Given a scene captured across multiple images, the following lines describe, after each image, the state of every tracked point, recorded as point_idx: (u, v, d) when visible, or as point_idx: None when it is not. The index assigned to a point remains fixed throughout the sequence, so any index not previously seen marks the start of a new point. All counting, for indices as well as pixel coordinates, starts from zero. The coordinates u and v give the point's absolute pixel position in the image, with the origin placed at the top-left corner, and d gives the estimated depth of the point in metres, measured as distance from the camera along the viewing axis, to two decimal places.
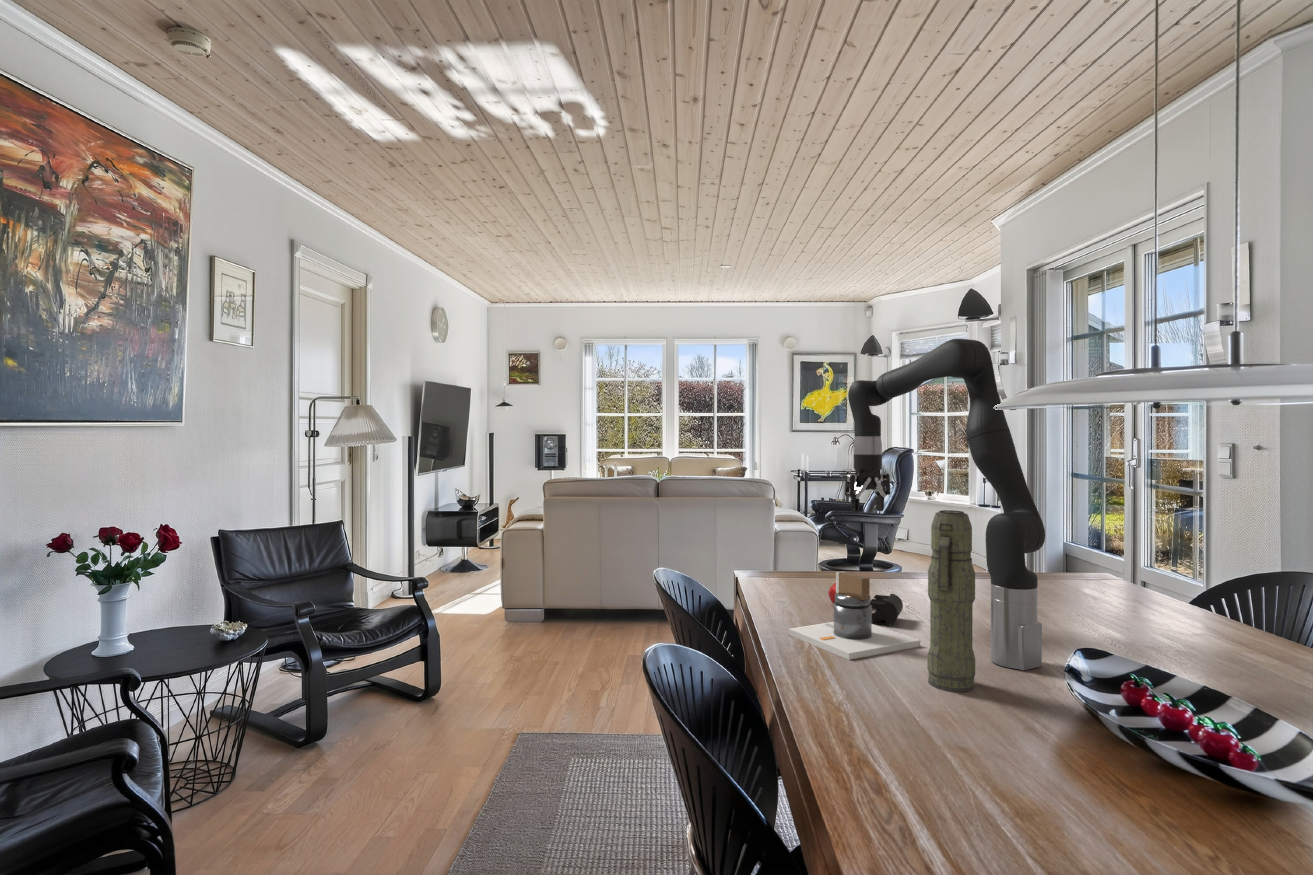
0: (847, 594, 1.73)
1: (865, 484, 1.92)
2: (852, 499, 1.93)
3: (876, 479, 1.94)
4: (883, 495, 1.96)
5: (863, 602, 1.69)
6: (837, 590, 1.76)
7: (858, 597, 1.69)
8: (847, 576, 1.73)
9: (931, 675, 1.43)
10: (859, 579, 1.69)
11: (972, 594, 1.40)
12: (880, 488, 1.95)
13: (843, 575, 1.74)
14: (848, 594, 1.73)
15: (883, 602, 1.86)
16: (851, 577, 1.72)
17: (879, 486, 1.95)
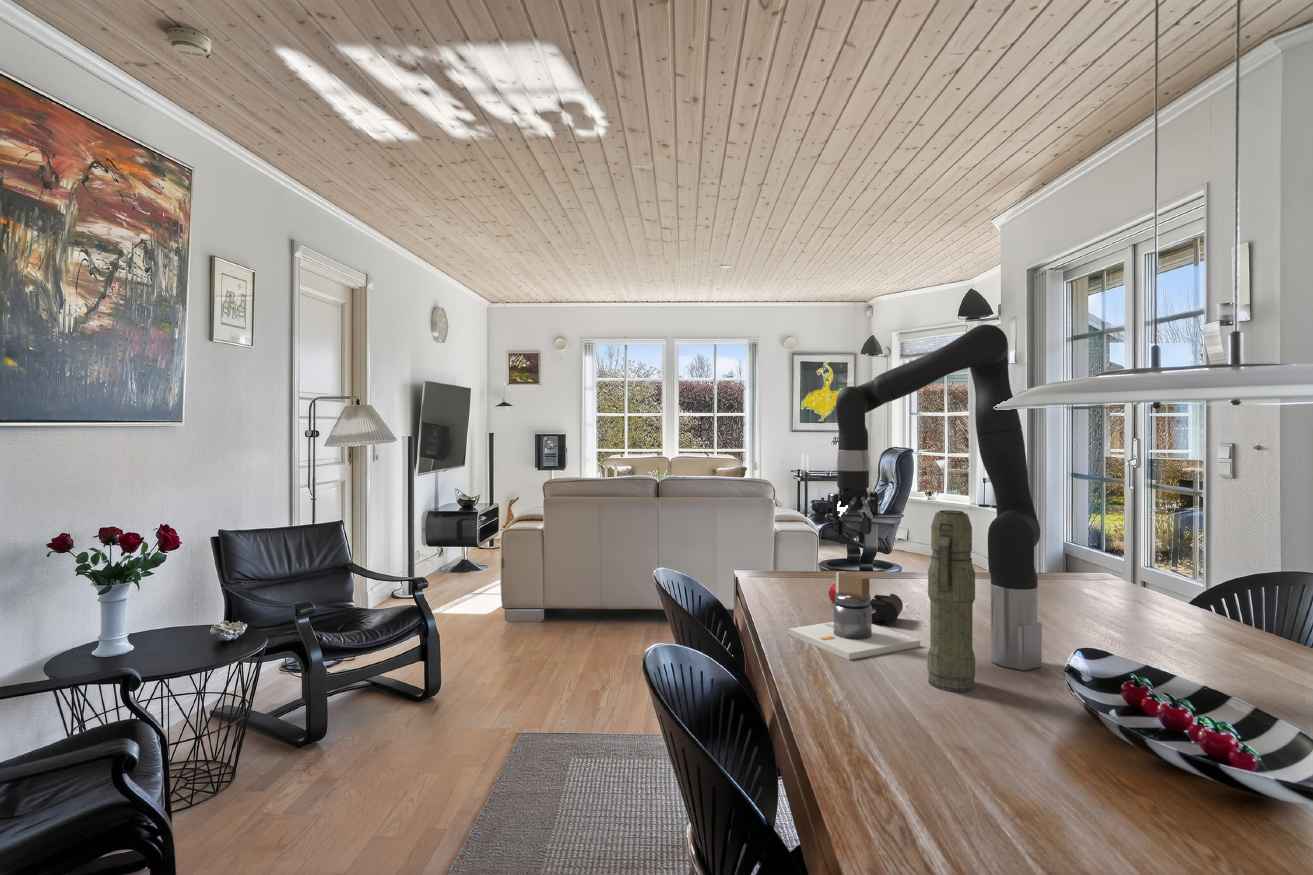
0: (847, 594, 1.73)
1: (850, 504, 1.70)
2: (835, 521, 1.70)
3: (862, 498, 1.72)
4: (870, 516, 1.74)
5: (863, 602, 1.69)
6: (837, 590, 1.76)
7: (858, 597, 1.69)
8: (847, 576, 1.73)
9: (931, 675, 1.43)
10: (859, 579, 1.69)
11: (972, 594, 1.40)
12: (867, 509, 1.73)
13: (843, 575, 1.74)
14: (848, 594, 1.73)
15: (883, 602, 1.86)
16: (851, 577, 1.72)
17: (866, 506, 1.72)
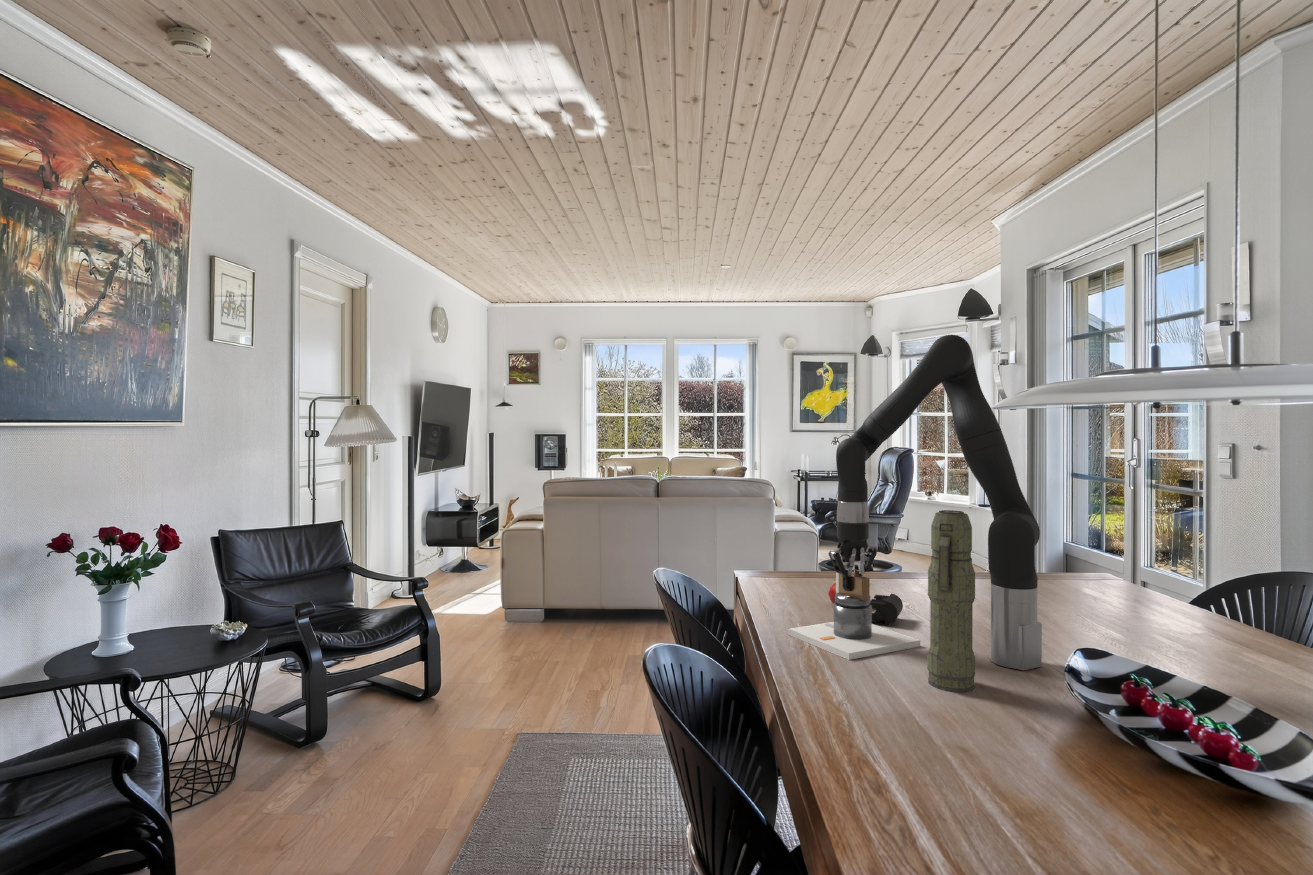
0: (847, 594, 1.73)
1: (852, 557, 1.71)
2: (844, 576, 1.72)
3: (862, 550, 1.72)
4: (861, 572, 1.73)
5: (863, 602, 1.69)
6: (837, 590, 1.76)
7: (858, 597, 1.69)
8: None
9: (931, 675, 1.43)
10: (859, 579, 1.69)
11: (972, 594, 1.40)
12: (862, 562, 1.72)
13: None
14: (848, 594, 1.73)
15: (883, 602, 1.86)
16: None
17: (862, 559, 1.72)
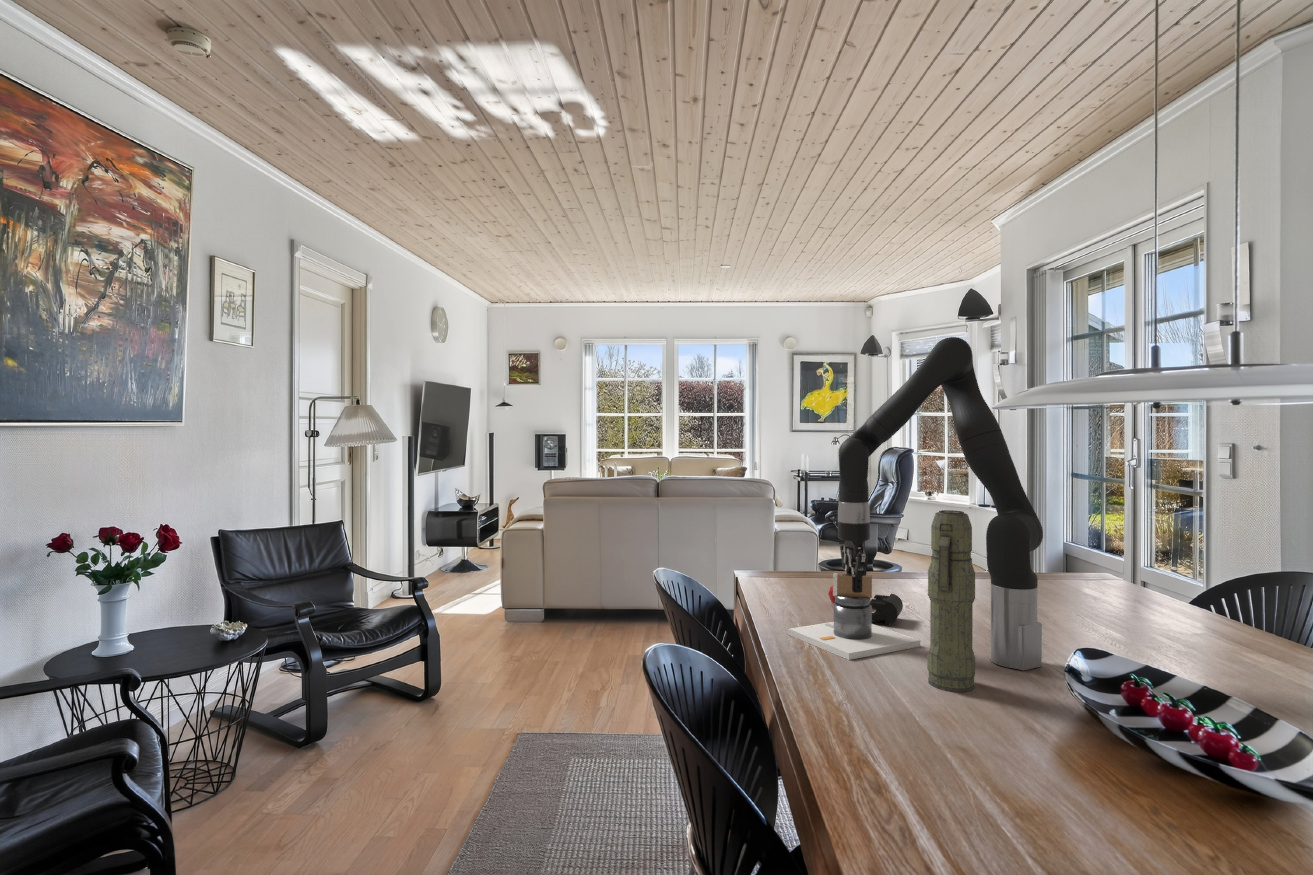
0: (850, 595, 1.72)
1: None
2: (858, 578, 1.70)
3: None
4: None
5: (870, 600, 1.71)
6: (835, 593, 1.73)
7: (866, 596, 1.71)
8: (850, 577, 1.72)
9: (931, 675, 1.43)
10: (868, 578, 1.71)
11: (972, 594, 1.40)
12: None
13: (844, 576, 1.72)
14: (852, 595, 1.72)
15: (883, 602, 1.86)
16: None
17: None
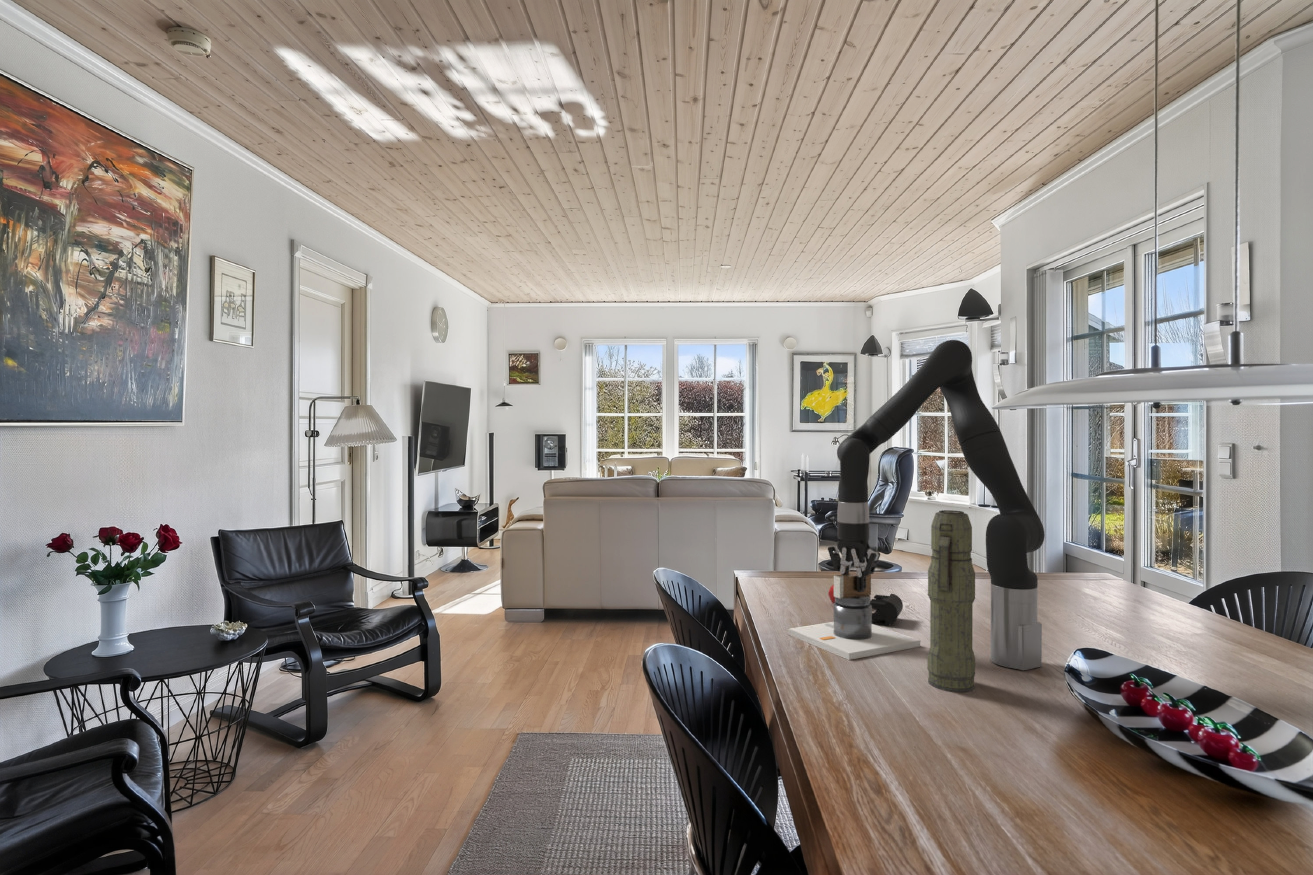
0: (854, 595, 1.72)
1: None
2: (864, 577, 1.71)
3: None
4: None
5: None
6: (841, 595, 1.70)
7: (867, 593, 1.73)
8: (853, 577, 1.72)
9: (931, 675, 1.43)
10: (867, 576, 1.73)
11: (972, 594, 1.40)
12: None
13: (849, 578, 1.71)
14: (855, 595, 1.72)
15: (883, 603, 1.86)
16: None
17: None
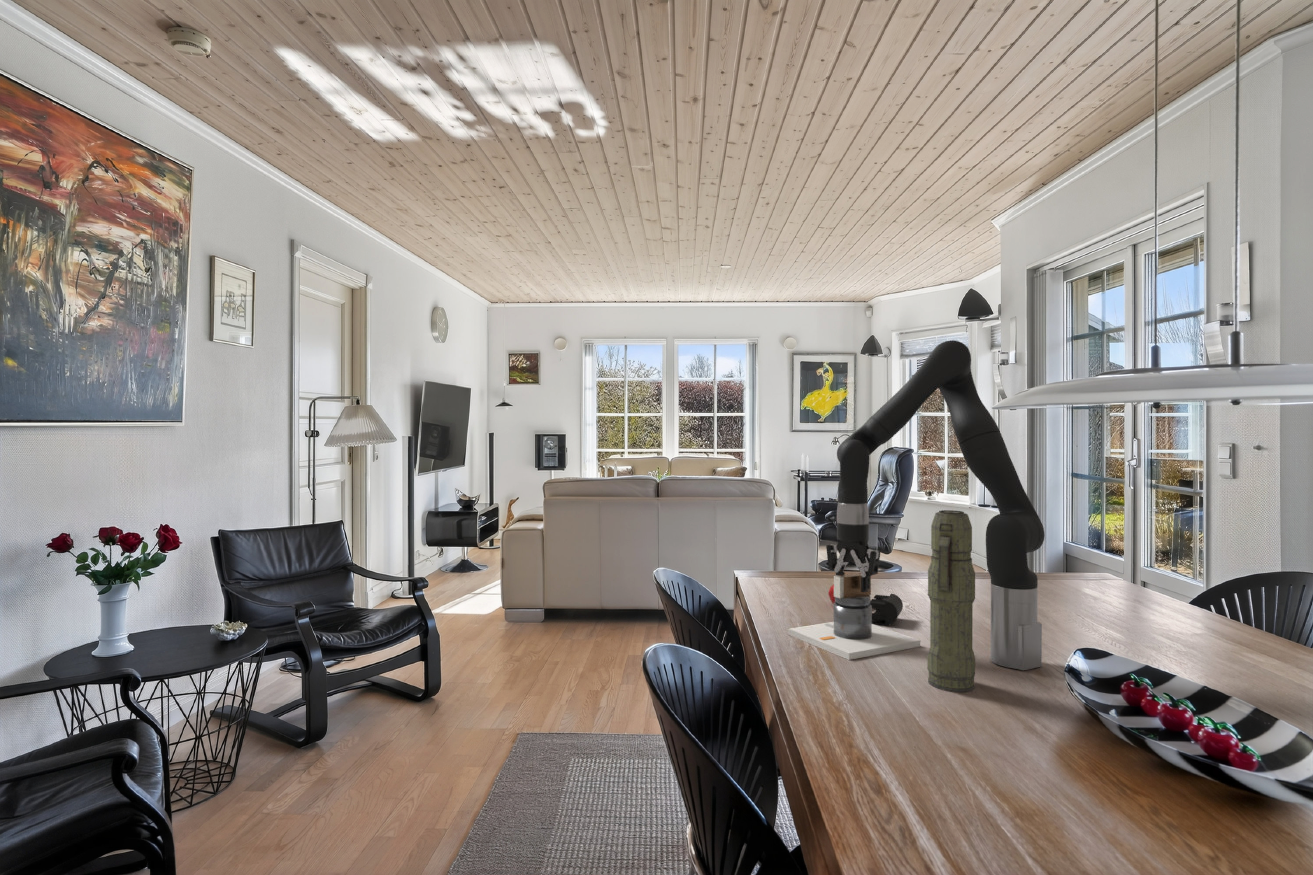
0: (854, 595, 1.72)
1: None
2: (868, 578, 1.70)
3: None
4: None
5: None
6: (842, 595, 1.70)
7: (867, 593, 1.73)
8: (854, 577, 1.72)
9: (931, 675, 1.43)
10: None
11: (972, 594, 1.40)
12: None
13: (849, 578, 1.71)
14: (855, 595, 1.72)
15: (883, 602, 1.86)
16: (858, 576, 1.72)
17: None
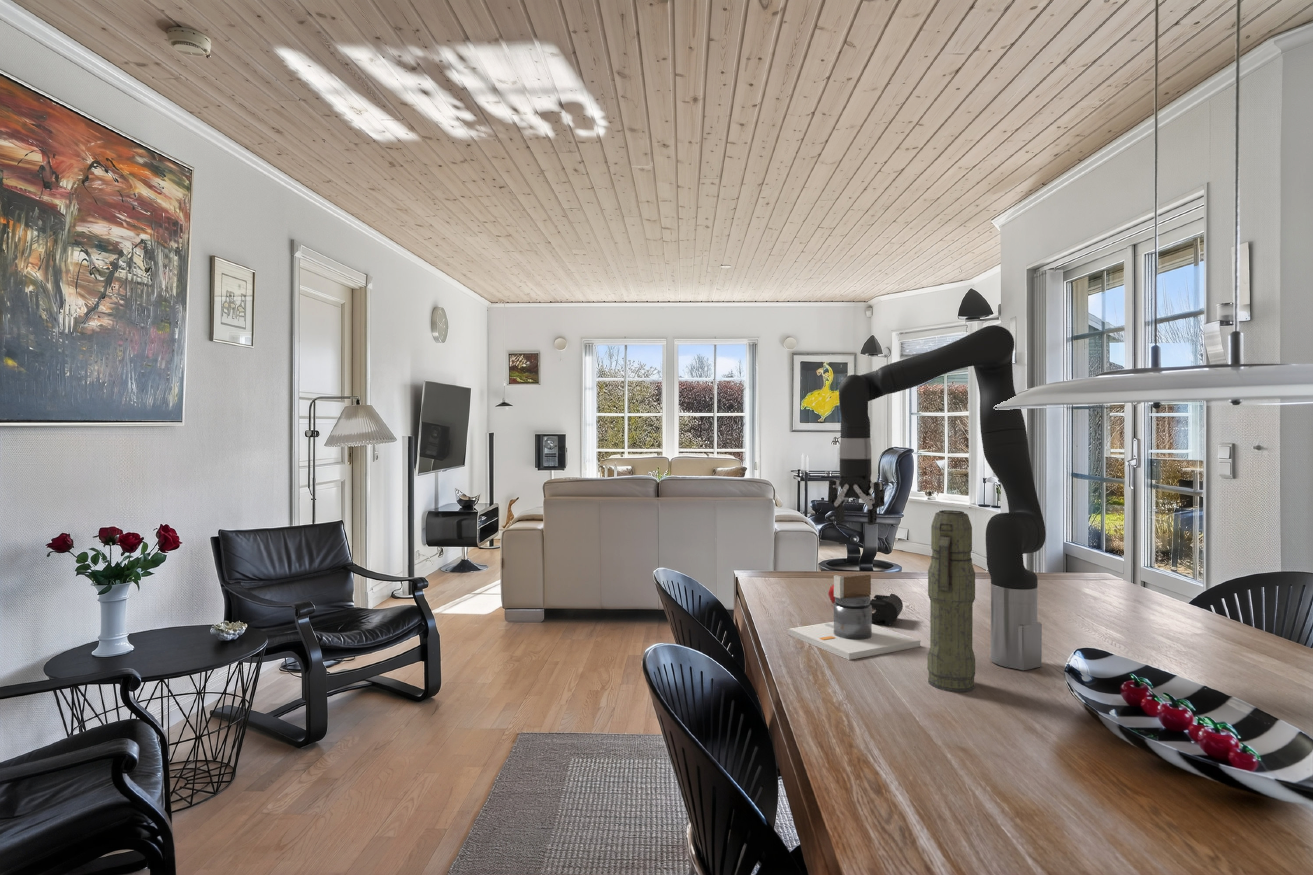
0: (854, 595, 1.72)
1: None
2: (875, 510, 1.69)
3: None
4: None
5: None
6: (842, 595, 1.70)
7: (866, 593, 1.73)
8: (854, 577, 1.72)
9: (931, 675, 1.43)
10: (867, 575, 1.73)
11: (972, 594, 1.40)
12: None
13: (849, 578, 1.71)
14: (855, 595, 1.72)
15: (883, 602, 1.86)
16: (858, 576, 1.72)
17: None
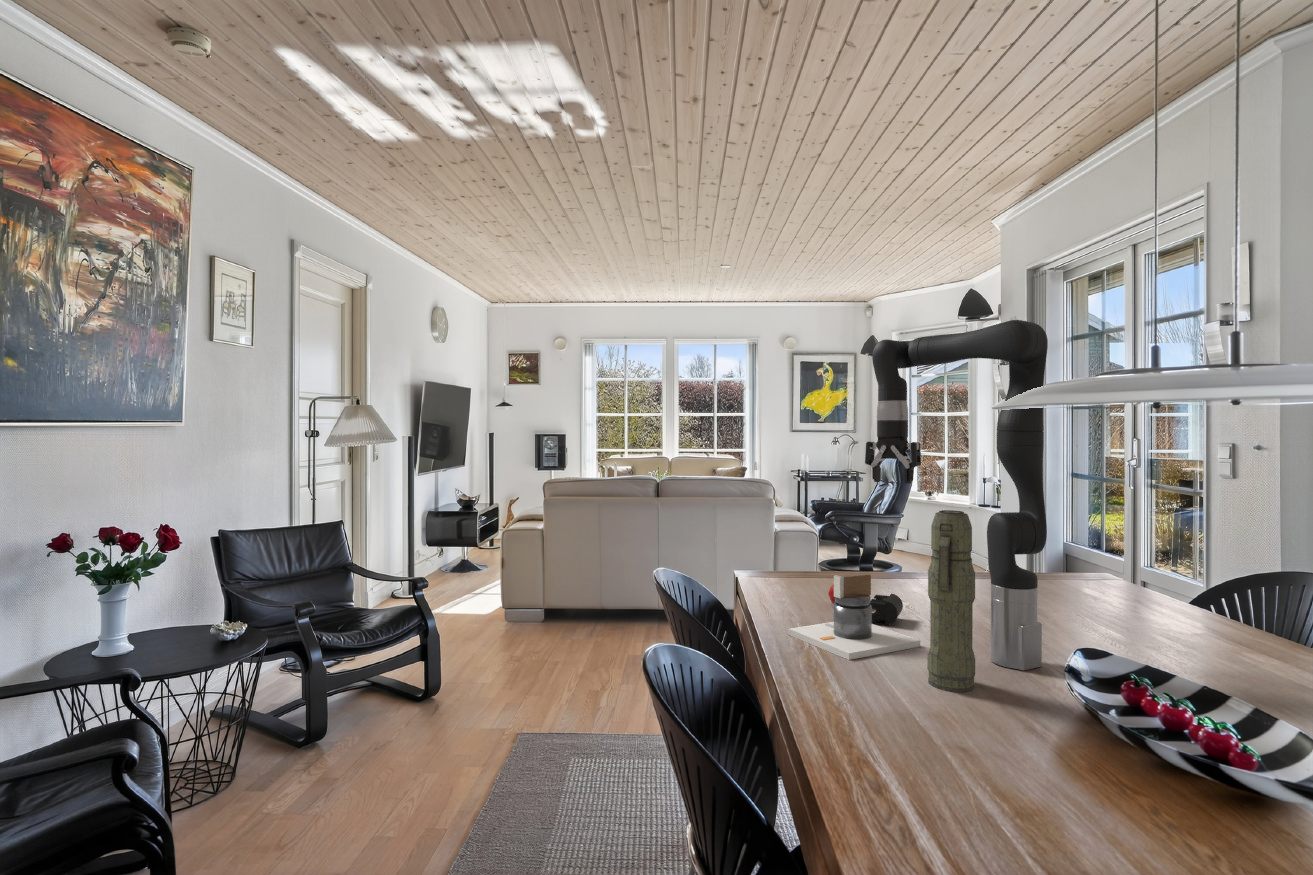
0: (854, 595, 1.72)
1: None
2: (911, 469, 1.76)
3: None
4: None
5: None
6: (842, 595, 1.70)
7: (866, 593, 1.73)
8: (854, 577, 1.72)
9: (931, 675, 1.43)
10: (867, 575, 1.73)
11: (972, 594, 1.40)
12: None
13: (849, 578, 1.71)
14: (855, 595, 1.72)
15: (883, 602, 1.86)
16: (858, 576, 1.72)
17: None
